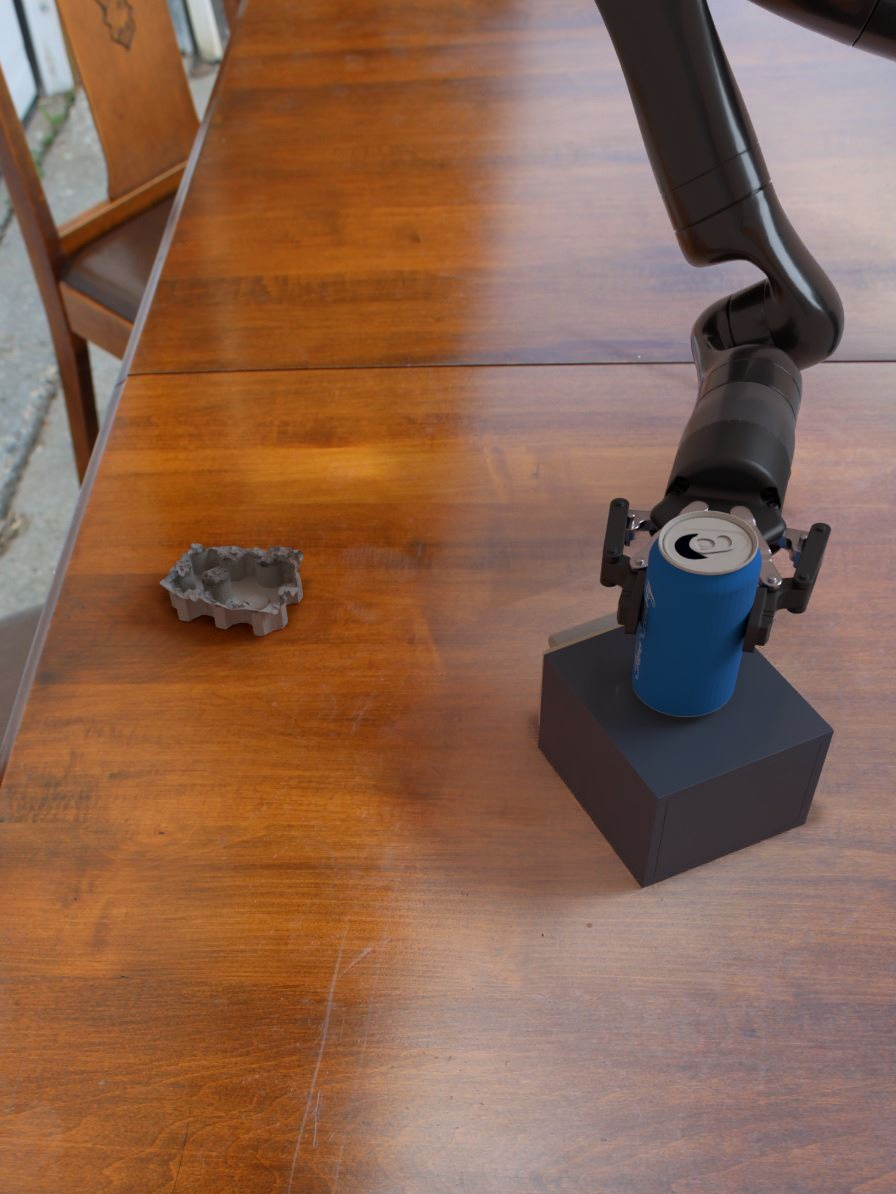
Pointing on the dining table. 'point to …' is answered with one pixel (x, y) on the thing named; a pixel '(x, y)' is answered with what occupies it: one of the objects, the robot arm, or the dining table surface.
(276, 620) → the egg carton
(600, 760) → the cabinet
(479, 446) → the dining table surface
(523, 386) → the dining table surface
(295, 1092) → the dining table surface
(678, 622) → the beverage can
